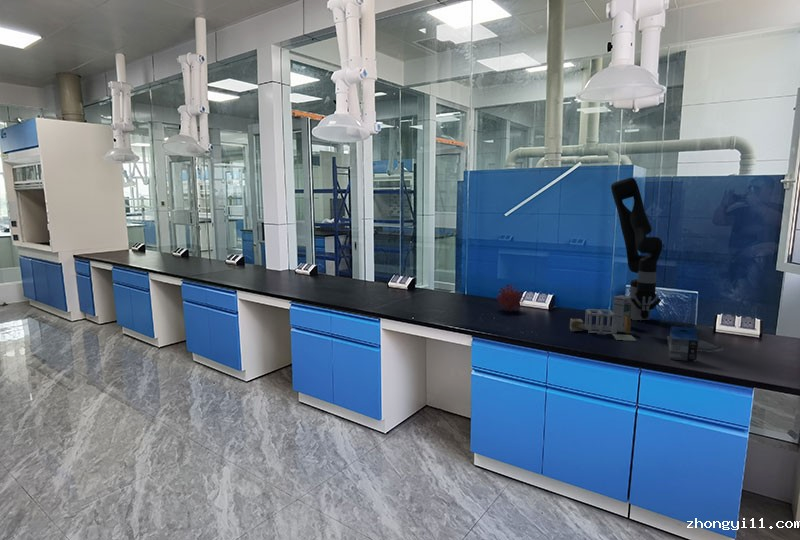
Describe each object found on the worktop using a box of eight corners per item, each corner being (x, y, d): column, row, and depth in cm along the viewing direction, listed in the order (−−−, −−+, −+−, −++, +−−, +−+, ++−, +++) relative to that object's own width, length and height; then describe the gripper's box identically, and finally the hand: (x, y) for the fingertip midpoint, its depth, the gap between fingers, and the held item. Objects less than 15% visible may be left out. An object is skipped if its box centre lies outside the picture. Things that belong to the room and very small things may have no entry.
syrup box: (622, 327, 219) (624, 298, 217) (611, 324, 224) (613, 295, 222) (629, 326, 222) (632, 297, 219) (619, 323, 227) (621, 294, 225)
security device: (732, 357, 178) (733, 353, 178) (667, 348, 189) (667, 343, 189) (726, 346, 193) (727, 341, 193) (666, 338, 204) (667, 334, 204)
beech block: (580, 329, 216) (581, 319, 215) (582, 332, 211) (583, 321, 210) (569, 328, 217) (570, 318, 216) (571, 331, 212) (571, 321, 211)
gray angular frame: (612, 329, 215) (613, 310, 214) (617, 335, 206) (619, 314, 205) (584, 328, 218) (585, 308, 216) (588, 333, 208) (589, 313, 207)
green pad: (631, 336, 204) (631, 335, 204) (636, 341, 196) (636, 340, 196) (612, 335, 206) (612, 334, 206) (616, 340, 198) (616, 339, 198)
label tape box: (669, 359, 174) (672, 328, 172) (667, 356, 178) (670, 326, 176) (696, 362, 171) (699, 331, 169) (693, 359, 175) (696, 328, 173)
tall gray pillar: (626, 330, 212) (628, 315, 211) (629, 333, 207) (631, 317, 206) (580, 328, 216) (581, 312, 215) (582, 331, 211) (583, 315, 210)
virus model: (493, 313, 247) (494, 286, 245) (498, 307, 261) (499, 281, 258) (521, 315, 242) (522, 288, 239) (524, 309, 255) (525, 283, 253)
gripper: (659, 279, 207) (656, 316, 209) (628, 279, 209) (626, 315, 212) (665, 282, 199) (662, 320, 202) (633, 282, 202) (631, 319, 205)
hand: (644, 318), depth 207 cm, fingers closed
